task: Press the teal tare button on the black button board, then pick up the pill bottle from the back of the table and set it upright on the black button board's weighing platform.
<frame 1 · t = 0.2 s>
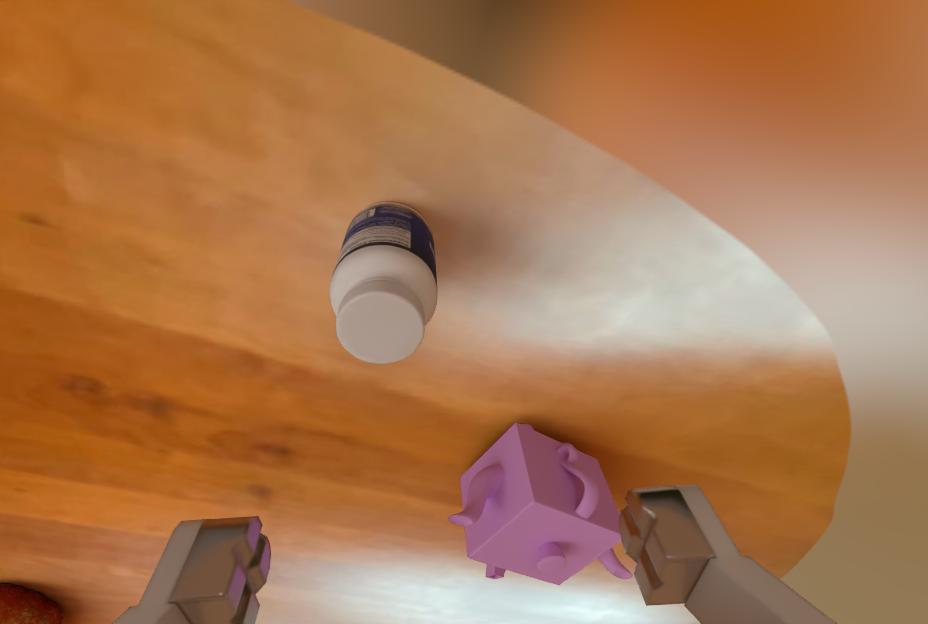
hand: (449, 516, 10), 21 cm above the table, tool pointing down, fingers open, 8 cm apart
fruit: (15, 603, 48), on the table
teapot: (521, 459, 42), on the table
pill bottle: (391, 239, 29), on the table
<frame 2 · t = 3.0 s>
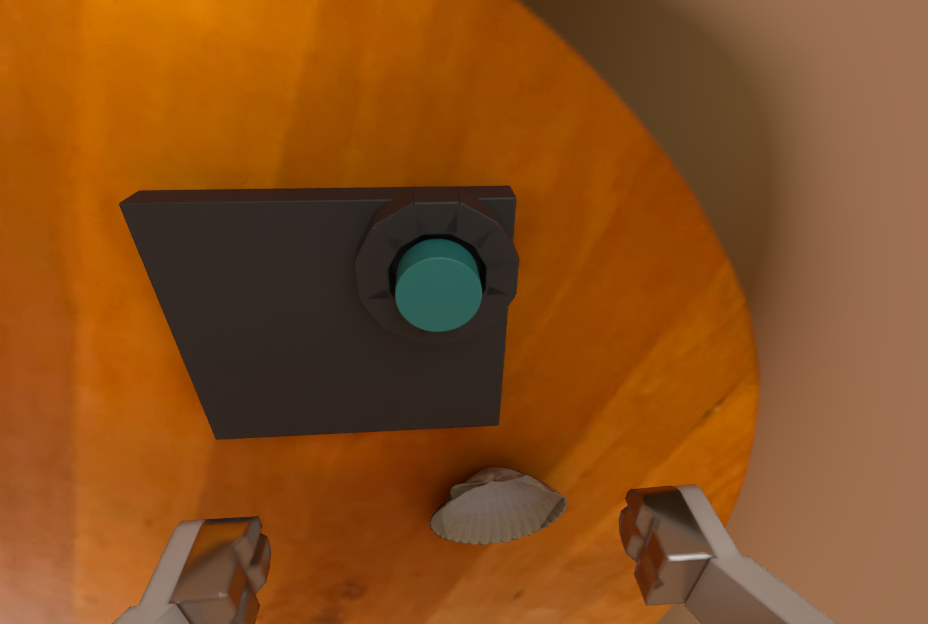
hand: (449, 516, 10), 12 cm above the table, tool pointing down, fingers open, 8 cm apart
black button board: (349, 317, 21), on the table
seashell: (495, 484, 29), on the table
tare button: (438, 285, 16), point 3 cm above the table, slide at 0.1 cm
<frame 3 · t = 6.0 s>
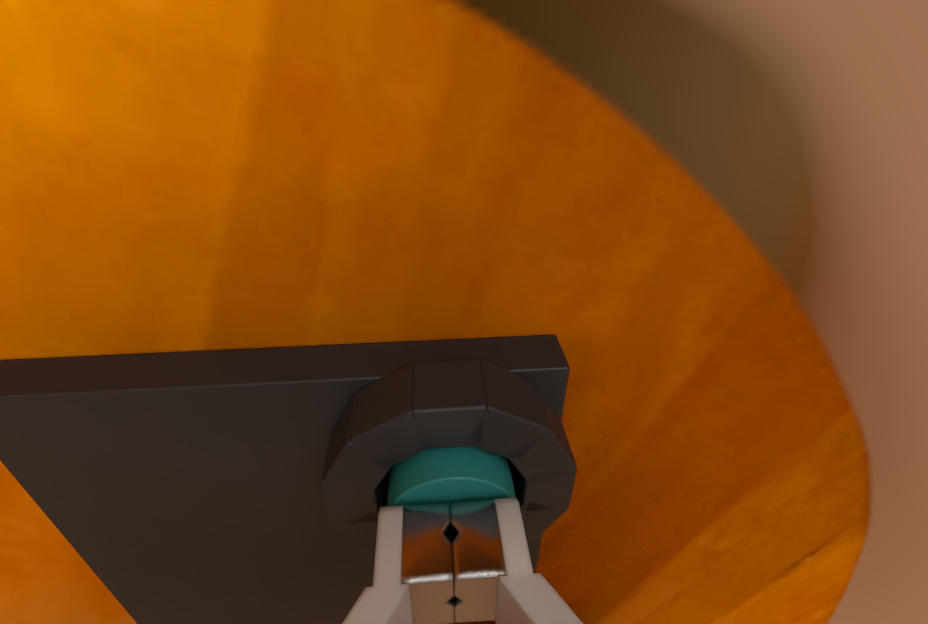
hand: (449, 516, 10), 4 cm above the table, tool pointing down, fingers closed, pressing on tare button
black button board: (325, 491, 15), on the table
tare button: (451, 490, 11), point 3 cm above the table, slide at -0.5 cm, touching gripper
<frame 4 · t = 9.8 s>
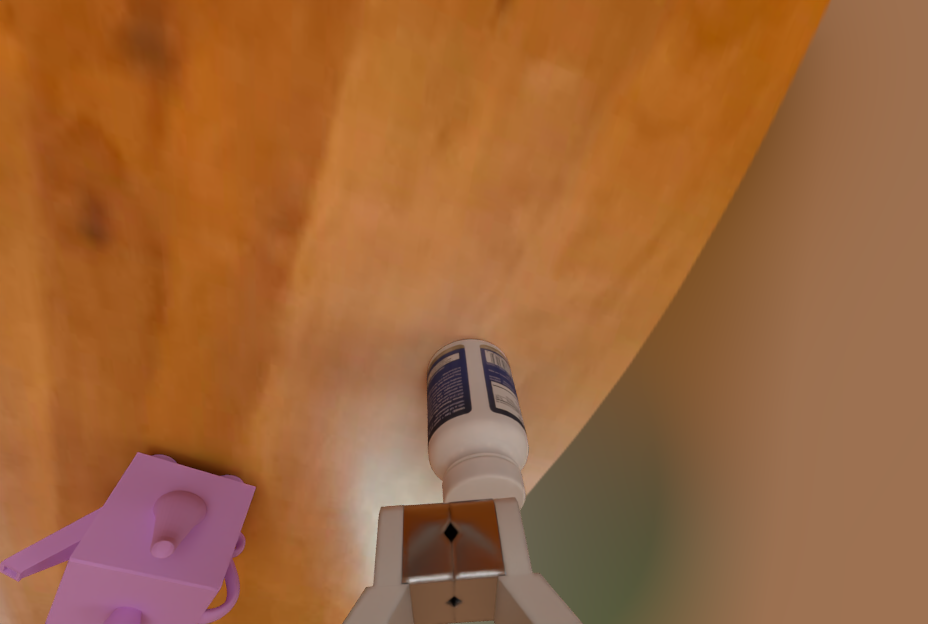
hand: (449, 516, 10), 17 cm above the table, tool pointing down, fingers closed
teapot: (179, 486, 35), on the table
pill bottle: (468, 367, 30), on the table
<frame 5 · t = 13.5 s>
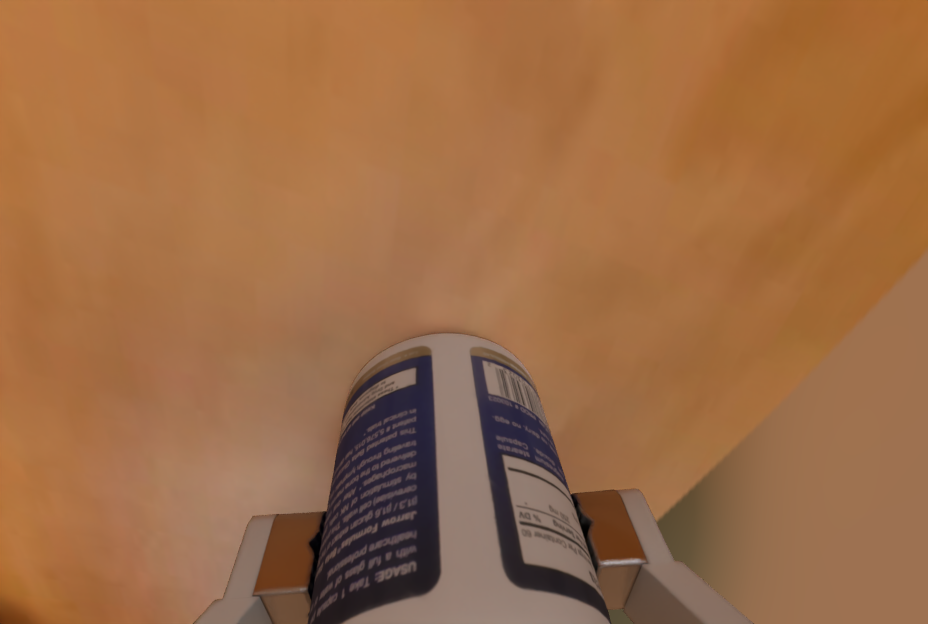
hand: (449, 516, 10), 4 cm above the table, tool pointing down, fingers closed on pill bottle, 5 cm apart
pill bottle: (442, 397, 13), on the table, touching gripper
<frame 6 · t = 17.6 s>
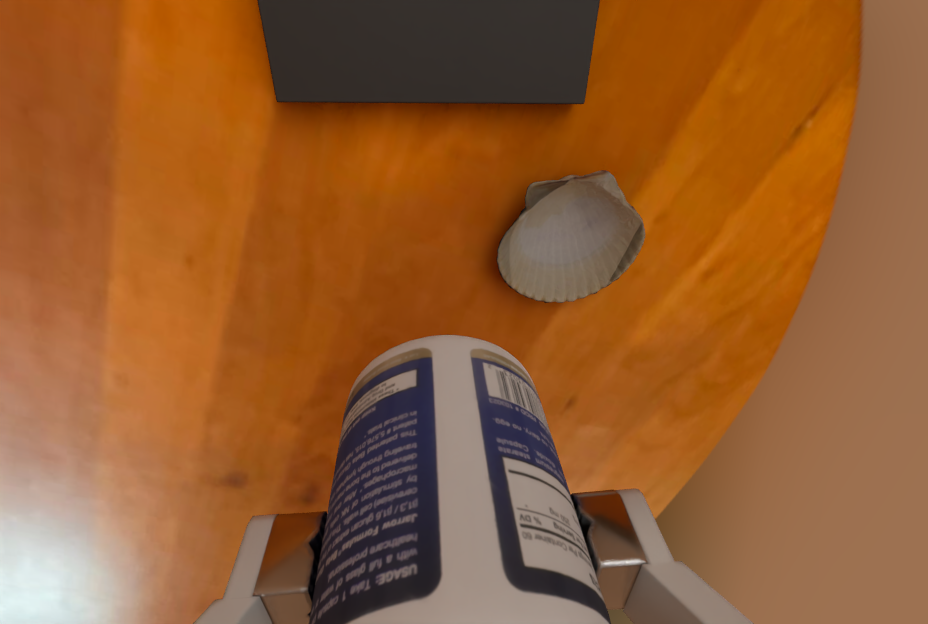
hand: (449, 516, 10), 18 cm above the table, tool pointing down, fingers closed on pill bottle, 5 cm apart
pill bottle: (443, 398, 13), point 14 cm above the table, touching gripper
seashell: (562, 229, 27), on the table
when the fingers open (5 cm above the table, at t = 22.1 s): pill bottle stays where it is, resting on black button board.
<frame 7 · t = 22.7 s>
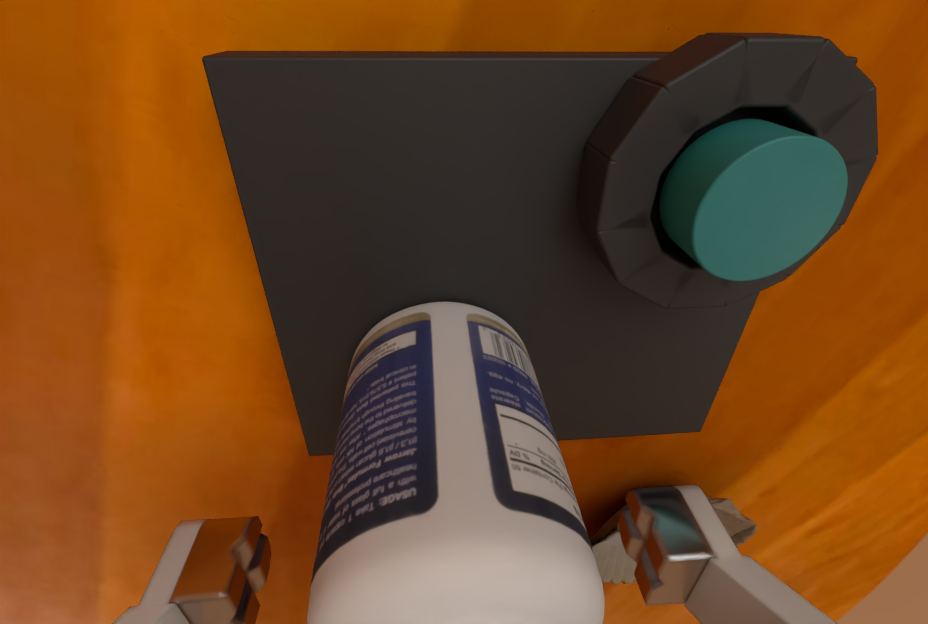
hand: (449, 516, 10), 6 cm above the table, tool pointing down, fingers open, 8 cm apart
pill bottle: (441, 366, 14), point 1 cm above the table, touching black button board
black button board: (516, 276, 14), on the table
seashell: (648, 506, 22), on the table
tare button: (745, 201, 10), point 3 cm above the table, slide at 0.1 cm
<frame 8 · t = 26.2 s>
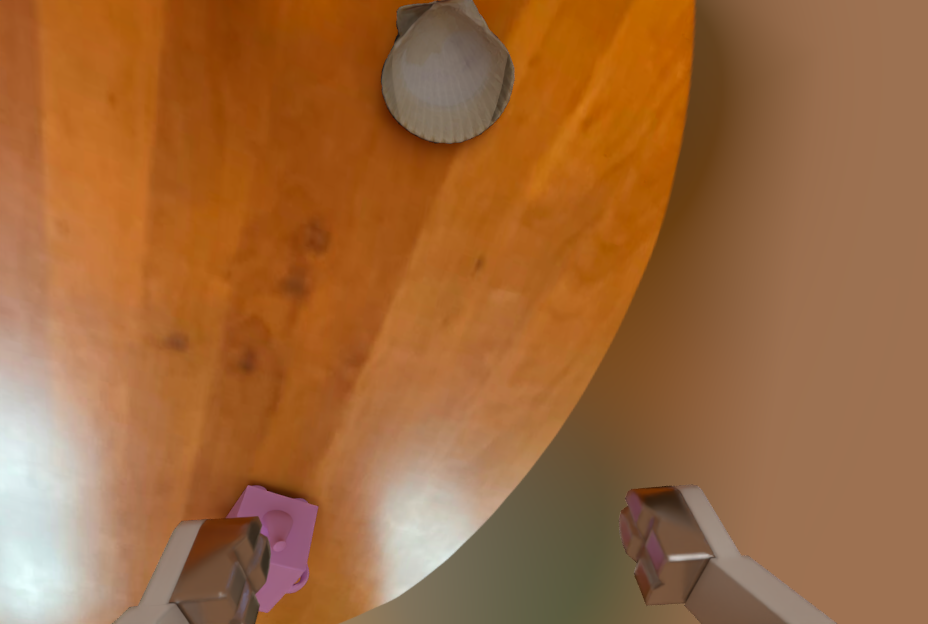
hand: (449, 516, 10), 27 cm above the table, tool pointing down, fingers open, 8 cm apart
teapot: (264, 505, 52), on the table
seashell: (446, 72, 30), on the table
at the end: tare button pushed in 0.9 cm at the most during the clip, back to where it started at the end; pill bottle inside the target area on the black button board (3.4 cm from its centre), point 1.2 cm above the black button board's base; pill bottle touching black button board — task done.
